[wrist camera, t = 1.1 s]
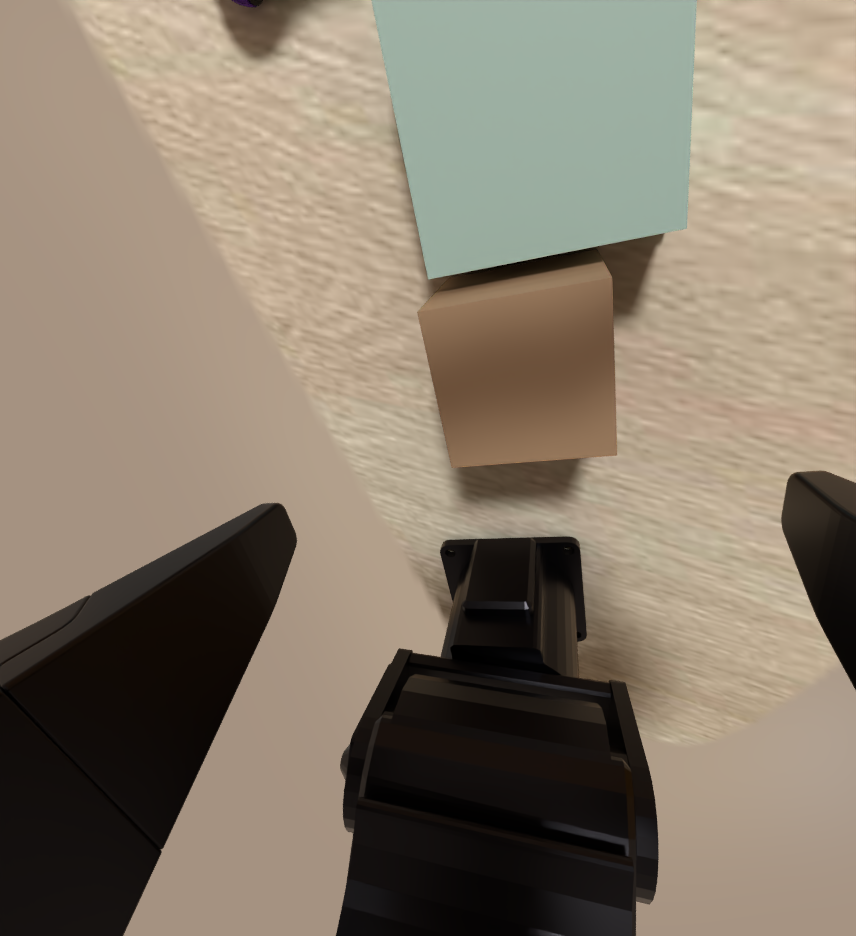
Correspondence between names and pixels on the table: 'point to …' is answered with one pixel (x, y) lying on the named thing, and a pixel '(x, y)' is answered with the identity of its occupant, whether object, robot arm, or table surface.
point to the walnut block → (525, 361)
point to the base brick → (540, 123)
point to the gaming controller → (248, 2)
